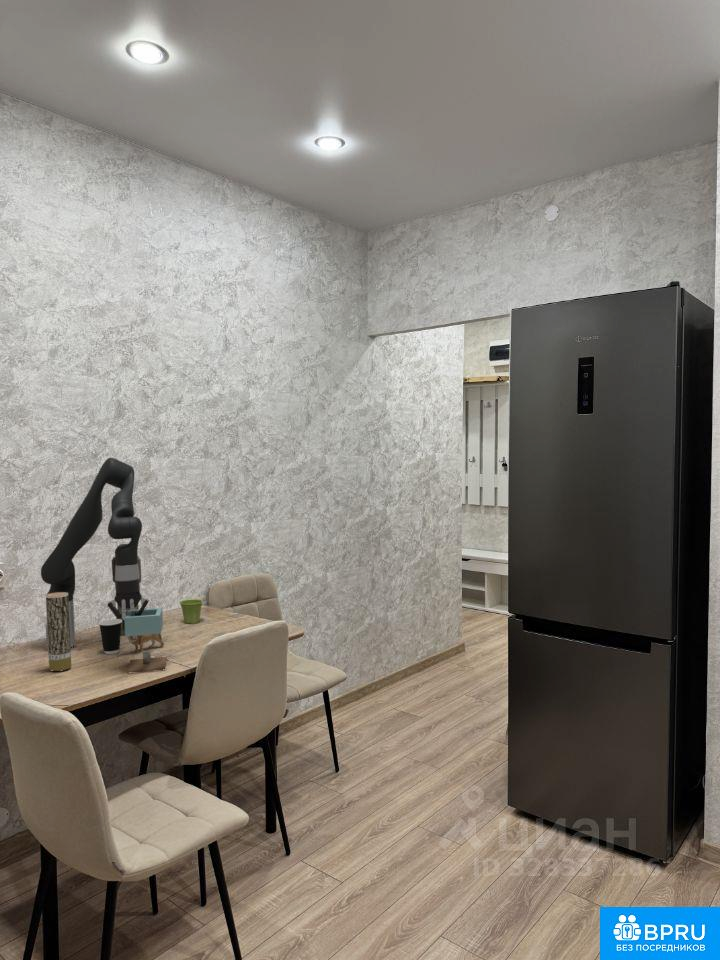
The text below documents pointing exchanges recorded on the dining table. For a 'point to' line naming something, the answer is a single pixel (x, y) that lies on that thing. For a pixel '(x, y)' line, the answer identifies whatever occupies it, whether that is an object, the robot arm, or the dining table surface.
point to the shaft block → (146, 663)
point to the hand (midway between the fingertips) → (129, 629)
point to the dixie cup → (110, 635)
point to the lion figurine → (145, 640)
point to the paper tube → (58, 631)
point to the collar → (144, 622)
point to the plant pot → (191, 610)
